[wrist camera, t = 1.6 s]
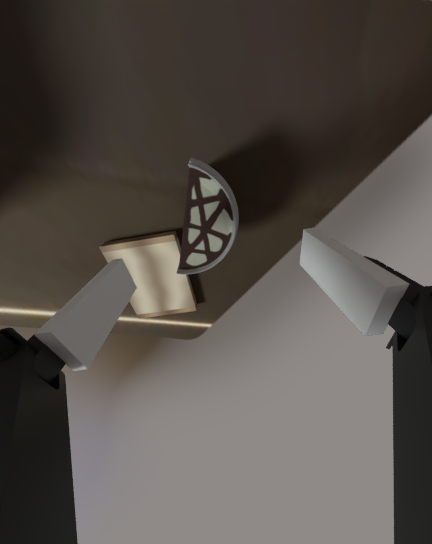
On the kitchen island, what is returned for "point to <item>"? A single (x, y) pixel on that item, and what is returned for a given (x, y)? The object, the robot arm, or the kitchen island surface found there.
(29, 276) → the kitchen island surface
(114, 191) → the kitchen island surface
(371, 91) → the kitchen island surface
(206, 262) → the food container
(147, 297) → the board
